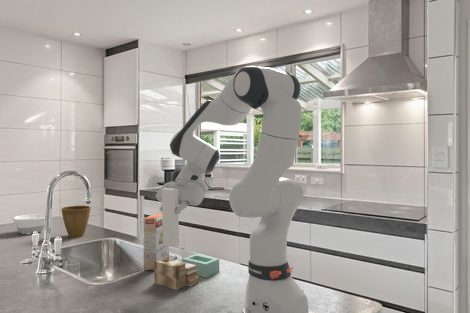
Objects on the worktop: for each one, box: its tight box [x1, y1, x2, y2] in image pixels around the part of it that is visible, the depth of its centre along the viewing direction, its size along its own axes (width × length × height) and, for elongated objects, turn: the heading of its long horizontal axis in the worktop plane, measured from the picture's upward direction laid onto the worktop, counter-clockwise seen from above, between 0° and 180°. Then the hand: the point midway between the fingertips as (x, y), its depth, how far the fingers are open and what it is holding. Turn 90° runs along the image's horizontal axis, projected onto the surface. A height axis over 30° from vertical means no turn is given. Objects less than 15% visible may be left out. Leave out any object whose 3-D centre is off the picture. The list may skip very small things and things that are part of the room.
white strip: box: [161, 188, 180, 248], centre depth 131 cm, size 6×2×20 cm, turn 54°
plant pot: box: [61, 205, 91, 238], centre depth 205 cm, size 15×15×16 cm
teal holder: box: [182, 253, 220, 278], centre depth 145 cm, size 12×8×5 cm, turn 54°
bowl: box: [12, 213, 46, 235], centre depth 216 cm, size 18×18×9 cm
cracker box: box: [143, 212, 170, 271], centre depth 153 cm, size 14×6×21 cm, turn 168°
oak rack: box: [153, 258, 187, 291], centre depth 131 cm, size 11×4×8 cm, turn 54°
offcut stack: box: [167, 259, 200, 287], centre depth 135 cm, size 14×5×6 cm, turn 54°
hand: (169, 211), depth 130 cm, fingers closed on white strip, 6 cm apart
